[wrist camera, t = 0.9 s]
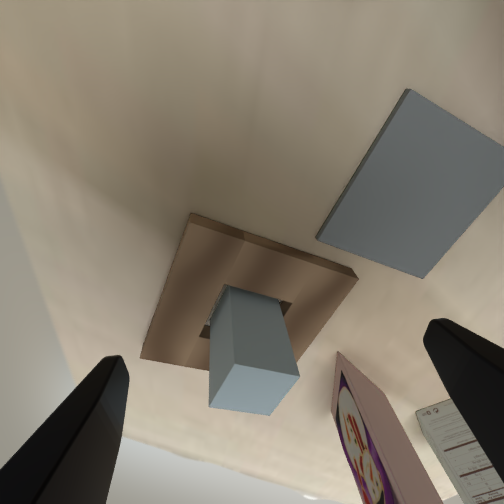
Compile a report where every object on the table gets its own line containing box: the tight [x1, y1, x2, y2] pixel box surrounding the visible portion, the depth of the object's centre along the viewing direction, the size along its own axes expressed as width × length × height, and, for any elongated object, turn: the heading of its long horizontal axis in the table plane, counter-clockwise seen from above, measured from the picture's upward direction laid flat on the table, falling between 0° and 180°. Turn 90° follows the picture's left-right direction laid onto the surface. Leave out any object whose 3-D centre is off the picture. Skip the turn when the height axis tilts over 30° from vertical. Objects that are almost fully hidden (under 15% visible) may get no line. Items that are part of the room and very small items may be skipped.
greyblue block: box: [209, 285, 300, 416], centre depth 22 cm, size 4×4×8 cm
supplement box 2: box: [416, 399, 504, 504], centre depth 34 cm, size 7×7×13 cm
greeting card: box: [331, 351, 443, 504], centre depth 27 cm, size 11×7×15 cm, turn 5°
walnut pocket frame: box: [140, 213, 359, 371], centre depth 25 cm, size 14×14×2 cm
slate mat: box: [316, 89, 504, 279], centre depth 21 cm, size 11×11×1 cm
